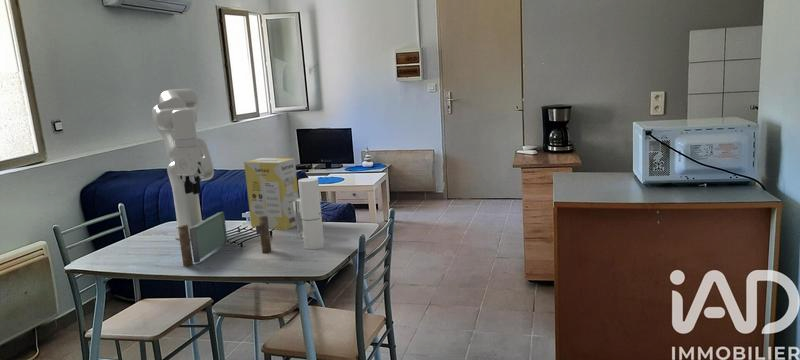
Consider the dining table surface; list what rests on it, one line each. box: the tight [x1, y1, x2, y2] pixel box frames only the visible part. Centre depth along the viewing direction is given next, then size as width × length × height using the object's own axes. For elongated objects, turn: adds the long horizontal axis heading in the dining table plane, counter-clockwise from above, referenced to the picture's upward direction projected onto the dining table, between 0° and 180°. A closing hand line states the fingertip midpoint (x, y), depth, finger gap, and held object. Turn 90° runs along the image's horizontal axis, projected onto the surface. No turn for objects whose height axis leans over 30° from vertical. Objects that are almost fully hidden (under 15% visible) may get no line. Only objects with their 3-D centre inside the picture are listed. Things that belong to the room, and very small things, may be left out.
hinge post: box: [177, 225, 194, 267], centre depth 198 cm, size 3×3×14 cm
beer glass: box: [293, 197, 304, 240], centre depth 224 cm, size 7×7×15 cm
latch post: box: [255, 216, 272, 254], centre depth 207 cm, size 5×4×13 cm
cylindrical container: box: [297, 177, 325, 250], centre depth 209 cm, size 7×7×25 cm
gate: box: [189, 211, 228, 264], centre depth 209 cm, size 23×2×12 cm, turn 171°
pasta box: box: [243, 157, 300, 231], centre depth 243 cm, size 18×10×28 cm, turn 63°
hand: (193, 192), depth 211 cm, fingers open, 3 cm apart
